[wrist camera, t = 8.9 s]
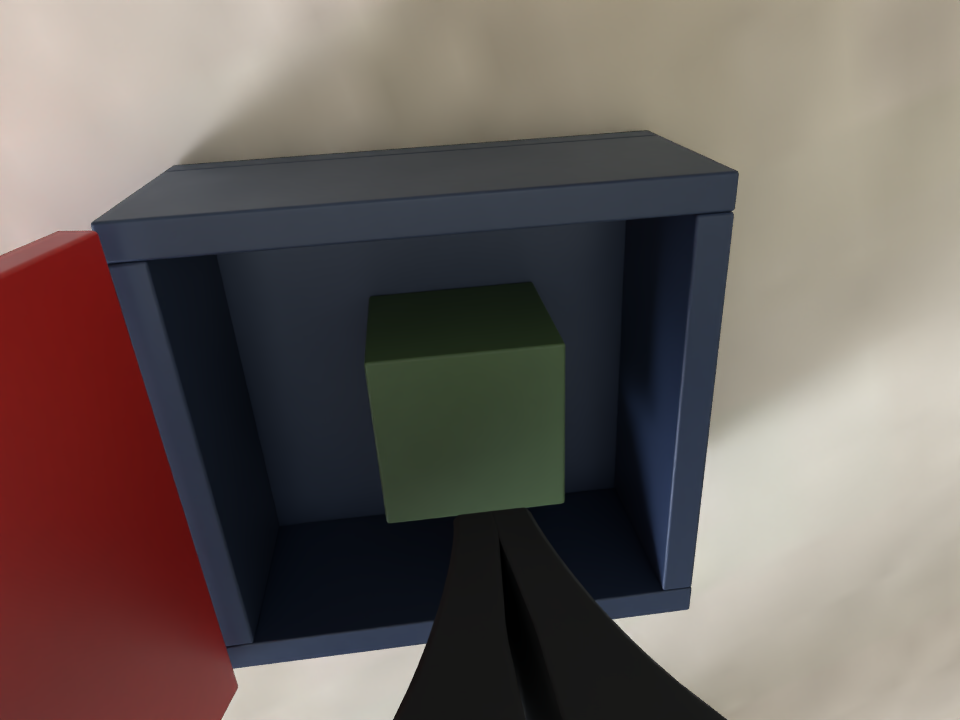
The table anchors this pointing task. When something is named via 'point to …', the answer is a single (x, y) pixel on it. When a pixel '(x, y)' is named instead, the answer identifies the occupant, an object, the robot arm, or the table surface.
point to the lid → (91, 512)
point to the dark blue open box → (341, 375)
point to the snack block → (466, 401)
